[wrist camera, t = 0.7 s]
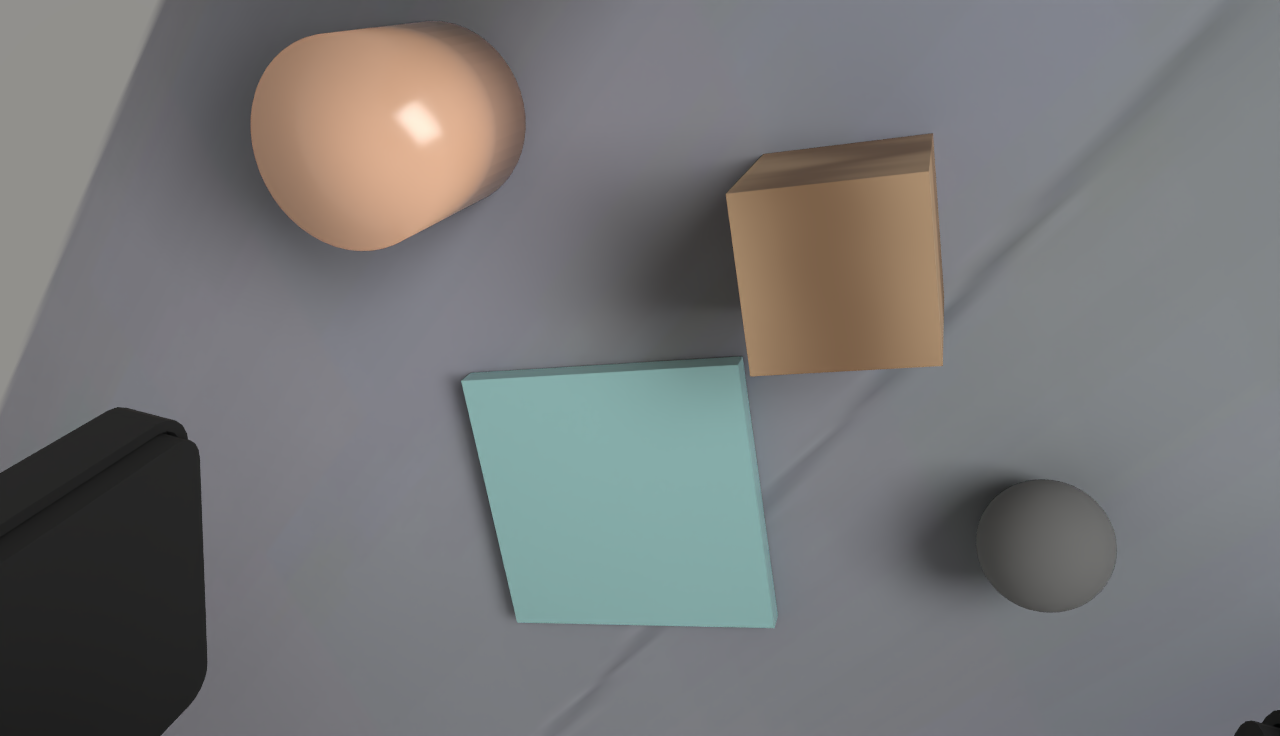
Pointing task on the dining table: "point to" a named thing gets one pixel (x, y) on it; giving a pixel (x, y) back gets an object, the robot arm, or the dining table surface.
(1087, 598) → the rubber ball
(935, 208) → the walnut block
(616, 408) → the coaster
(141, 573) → the robot arm
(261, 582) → the dining table surface
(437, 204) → the beige rounded cylinder
